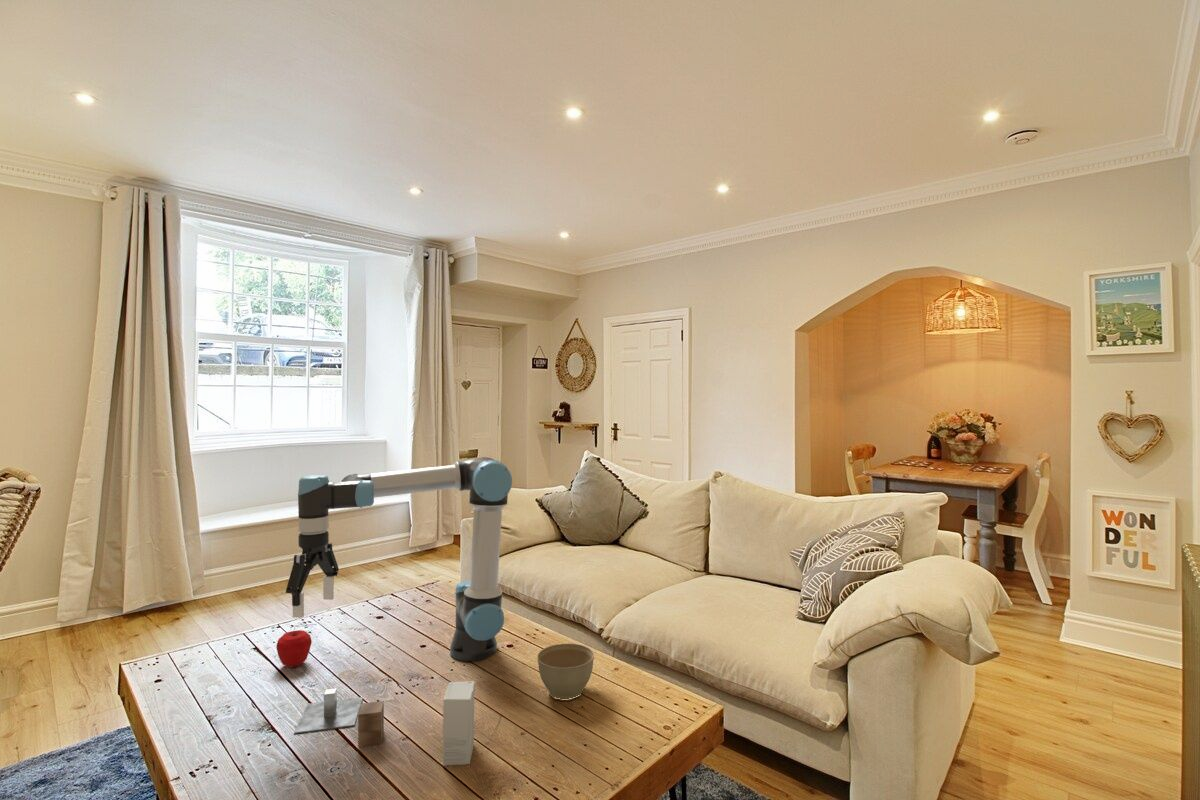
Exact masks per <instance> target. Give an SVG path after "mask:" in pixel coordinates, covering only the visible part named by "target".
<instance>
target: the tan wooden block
mask: <svg viewBox="0 0 1200 800" xmlns="http://www.w3.org/2000/svg"><path fill="white" fill-rule="evenodd" d="M384 702H385V701H384V700H381V701H380V700H379V701H371V702H363V703H361V706H360V709H359V713H358V716H357V719H358V720H357V732H358V733H357V736H358V737H357V742H358V743H357V744H358V745H357V746H358V747H357V748H359V747H360V748H361V747H362V748H363V747H368V746H375V745H381V744H382V741H383V738H384V737H383V736H384V733H385V726H384V725H385V721H384V720H385V715H384V713H385V712H384V711H385V709H384V708H385V707H384V706H385V703H384Z"/></svg>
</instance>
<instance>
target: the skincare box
mask: <svg viewBox="0 0 1200 800" xmlns="http://www.w3.org/2000/svg"><path fill="white" fill-rule="evenodd" d="M475 683H476V682H475V681H474V680H471V681H469V680H468V681H466V680H465V681H450V682H448V684H447V688H446V690H445V693H444V696H443V703H442V704H443V705H442V714H443V715H442V718H443V719H442V767H446V765H449V766H466V764H469V765H470V764H471V759H472V755H473V751H474V750H473V749H474V745H475V744H474V743H475V739H474V738H475V735H474V734H475V685H476V684H475Z"/></svg>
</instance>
